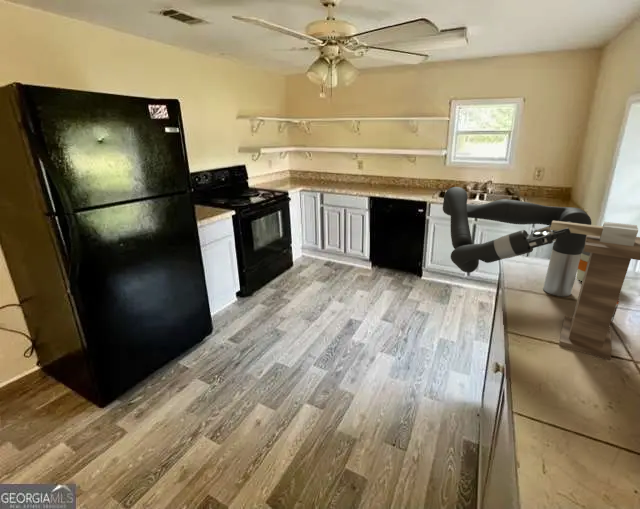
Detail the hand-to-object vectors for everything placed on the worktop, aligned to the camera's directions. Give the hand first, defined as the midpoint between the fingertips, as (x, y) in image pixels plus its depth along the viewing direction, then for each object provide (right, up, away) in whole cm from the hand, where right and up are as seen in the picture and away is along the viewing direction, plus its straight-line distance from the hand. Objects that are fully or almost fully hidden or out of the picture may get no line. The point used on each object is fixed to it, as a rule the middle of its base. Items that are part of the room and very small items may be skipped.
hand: (571, 227), depth 99 cm
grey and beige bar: (+4, -3, -2) cm, 5 cm away
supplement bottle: (+22, -30, +16) cm, 40 cm away
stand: (+9, -34, +6) cm, 36 cm away
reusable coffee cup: (+41, -19, +44) cm, 63 cm away
